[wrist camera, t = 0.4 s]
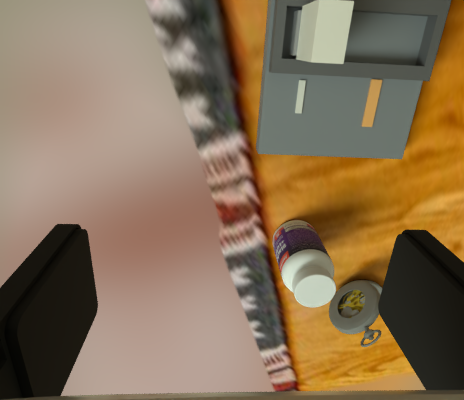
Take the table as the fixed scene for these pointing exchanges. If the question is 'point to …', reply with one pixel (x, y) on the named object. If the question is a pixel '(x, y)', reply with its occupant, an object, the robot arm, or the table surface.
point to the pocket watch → (356, 308)
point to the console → (349, 81)
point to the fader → (321, 31)
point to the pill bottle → (304, 263)
